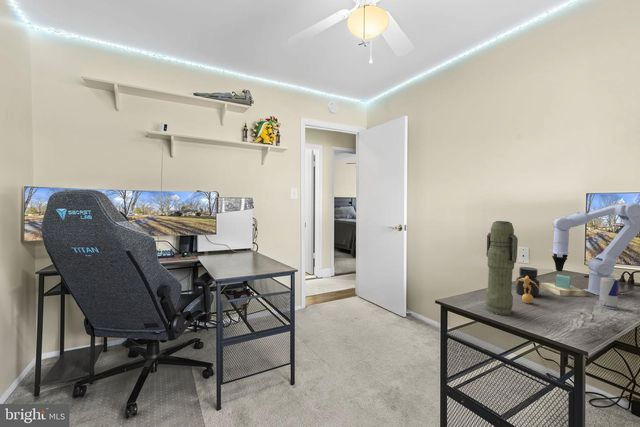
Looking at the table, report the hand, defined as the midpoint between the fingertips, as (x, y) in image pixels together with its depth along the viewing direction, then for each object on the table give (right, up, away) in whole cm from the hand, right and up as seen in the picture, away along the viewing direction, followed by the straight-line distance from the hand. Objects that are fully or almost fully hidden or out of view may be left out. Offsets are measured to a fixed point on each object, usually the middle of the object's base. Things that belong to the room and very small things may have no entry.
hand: (559, 269), depth 144 cm
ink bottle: (-22, -10, -9) cm, 26 cm away
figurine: (-32, -10, -22) cm, 40 cm away
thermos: (-49, -10, -30) cm, 59 cm away
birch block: (-2, -10, -4) cm, 11 cm away
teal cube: (-2, -7, -4) cm, 9 cm away
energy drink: (0, -11, -24) cm, 27 cm away
